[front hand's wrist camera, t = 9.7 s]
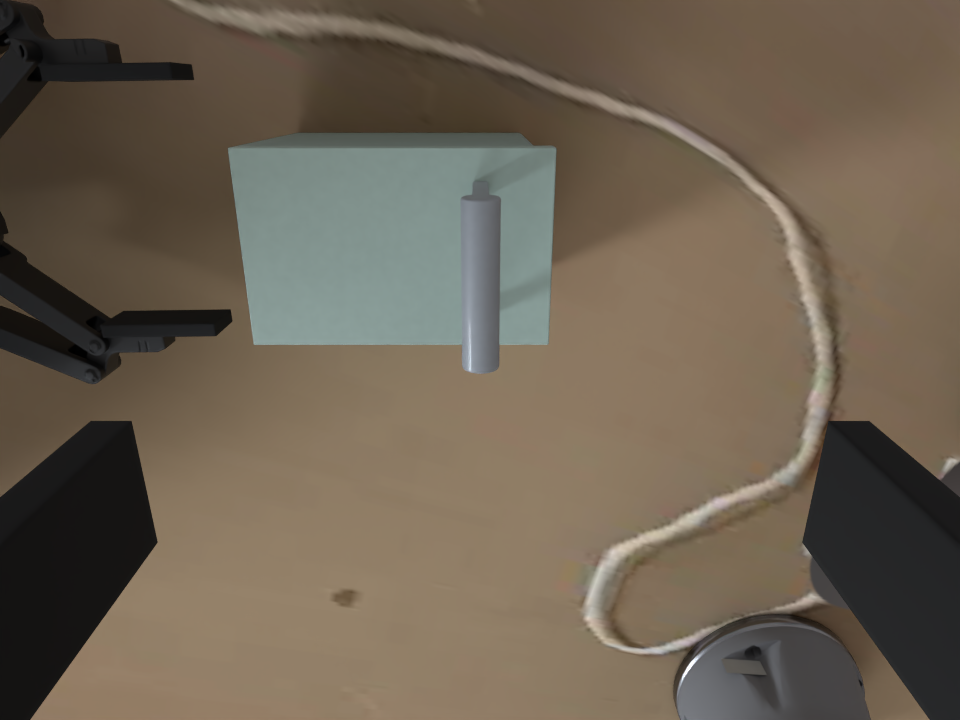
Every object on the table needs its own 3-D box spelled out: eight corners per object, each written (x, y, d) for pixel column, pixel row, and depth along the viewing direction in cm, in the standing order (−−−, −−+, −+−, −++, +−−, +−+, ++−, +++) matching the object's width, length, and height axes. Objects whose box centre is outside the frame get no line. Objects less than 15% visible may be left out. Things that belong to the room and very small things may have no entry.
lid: (553, 145, 31) (577, 162, 24) (546, 336, 35) (565, 404, 27) (236, 145, 31) (159, 162, 24) (261, 336, 35) (200, 404, 27)
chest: (520, 132, 41) (534, 145, 31) (517, 280, 45) (528, 336, 35) (296, 132, 41) (236, 145, 31) (311, 280, 45) (261, 336, 35)
